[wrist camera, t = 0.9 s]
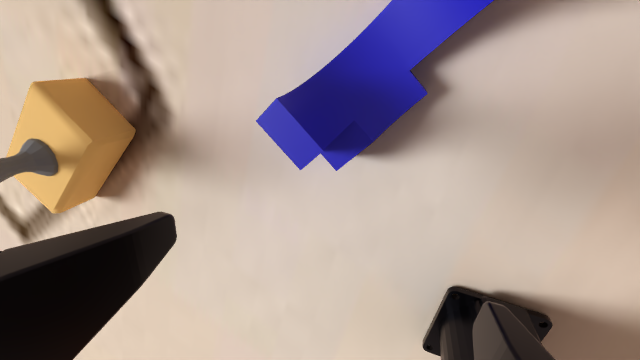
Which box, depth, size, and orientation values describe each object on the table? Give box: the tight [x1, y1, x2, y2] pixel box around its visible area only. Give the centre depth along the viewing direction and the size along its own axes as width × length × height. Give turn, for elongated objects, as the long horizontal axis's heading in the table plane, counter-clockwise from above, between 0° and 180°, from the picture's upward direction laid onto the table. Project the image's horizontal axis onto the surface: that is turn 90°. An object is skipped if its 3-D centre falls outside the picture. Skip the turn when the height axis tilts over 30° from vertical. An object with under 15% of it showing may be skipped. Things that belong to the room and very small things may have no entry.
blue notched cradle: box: [256, 0, 494, 171], centre depth 13 cm, size 12×4×6 cm, turn 136°
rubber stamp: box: [0, 78, 136, 213], centre depth 19 cm, size 10×6×12 cm, turn 136°
